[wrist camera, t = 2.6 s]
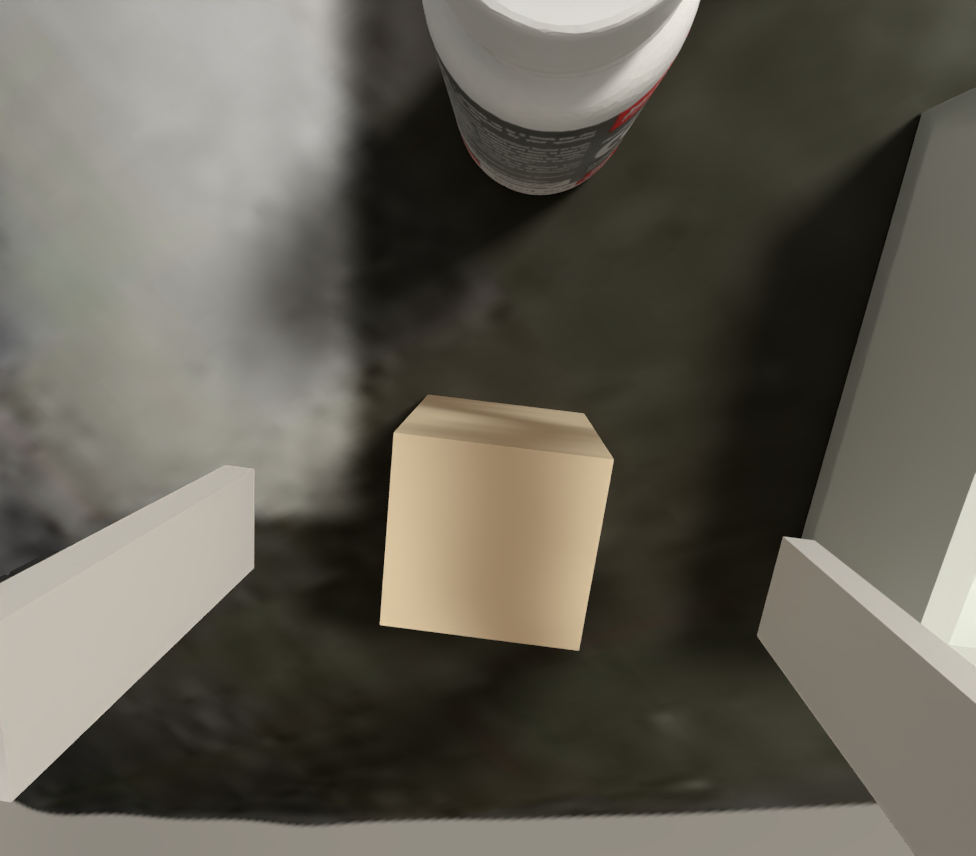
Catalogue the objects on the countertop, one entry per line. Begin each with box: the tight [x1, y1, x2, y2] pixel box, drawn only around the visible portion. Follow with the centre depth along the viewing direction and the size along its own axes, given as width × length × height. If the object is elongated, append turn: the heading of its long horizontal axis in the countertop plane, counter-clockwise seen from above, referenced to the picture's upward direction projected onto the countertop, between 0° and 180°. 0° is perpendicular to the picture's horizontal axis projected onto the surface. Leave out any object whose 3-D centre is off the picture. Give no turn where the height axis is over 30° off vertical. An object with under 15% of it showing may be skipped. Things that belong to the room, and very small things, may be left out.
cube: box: [380, 395, 614, 651], centre depth 15 cm, size 5×5×5 cm
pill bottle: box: [422, 0, 700, 195], centre depth 10 cm, size 5×5×8 cm
